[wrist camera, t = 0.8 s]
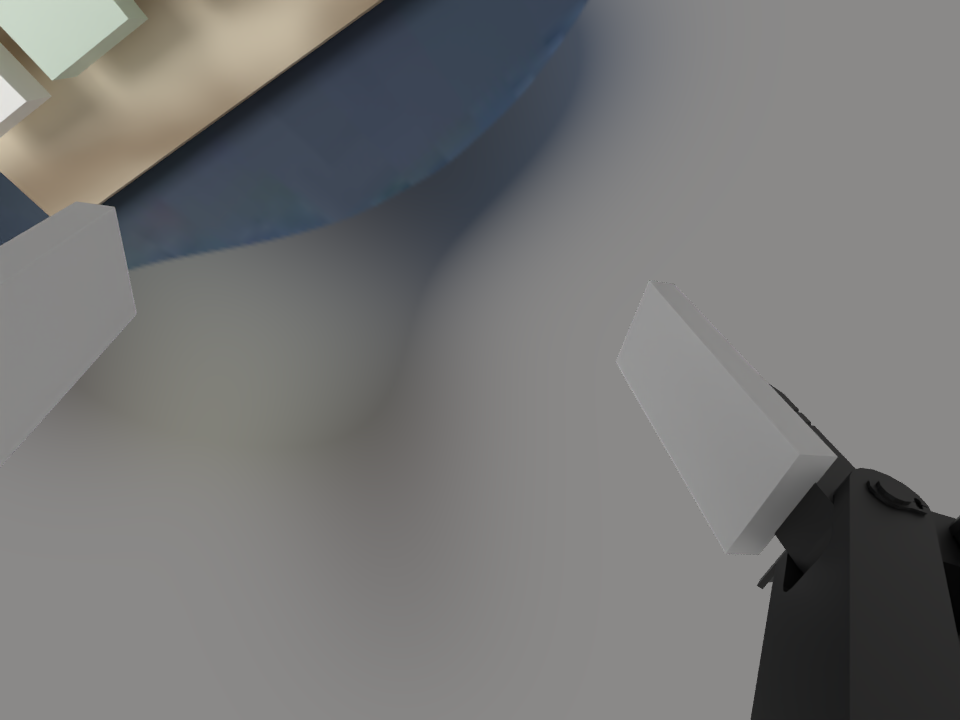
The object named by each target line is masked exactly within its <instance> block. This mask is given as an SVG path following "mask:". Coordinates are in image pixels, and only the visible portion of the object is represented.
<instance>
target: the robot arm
mask: <svg viewBox="0 0 960 720" xmlns="http://www.w3.org/2000/svg"><path fill="white" fill-rule="evenodd" d="M136 314H137V312H136V307H135V302H134V297H133V292H132V287H131V283H130V278H129V273H128V268H127V263H126V258H125V253H124V249H123V244H122V239H121V234H120V229H119V224H118V219H117V215H116V210H115V207H113V206H105V205H98V204H91V203H84V202H74V203H73V204H71V205H69V206H67V207H66V208H64V209H62V210H61V211H59V212H57V213H56V214H54V215H52V216H50V217H49V218H47V219H45V220H44V221H42V222H40V223H38V224H37V225H35V226H33V227H32V228H30V229H28V230H26V231H25V232H23V233H21V234H20V235H18V236H16V237H15V238H13V239H11V240H9V241H8V242H6V243H4V244H3V245H1V246H0V467H1V466H2V465H3V464H4V463H5V462H6V461H7V459H8V458H9V457H10V456H11V455H12V454H13V453H14V452H15V450H16V449H17V448H18V447H19V446H20V445H21V444H22V443H23V441H24V440H25V439H26V438H27V437H28V436H29V435H30V434H31V432H32V431H33V430H34V429H35V428H36V427H37V426H38V424H39V423H40V422H41V421H42V420H43V419H44V418H45V417H46V416H47V414H48V413H49V412H50V411H51V410H52V409H53V408H54V407H55V405H56V404H57V403H58V402H59V401H60V400H61V399H62V398H63V396H64V395H65V394H66V393H67V392H68V391H69V390H70V388H71V387H72V386H73V385H74V384H75V383H76V382H77V380H78V379H79V378H80V377H81V376H82V375H83V374H84V373H85V372H86V370H87V369H88V368H89V367H90V366H91V365H92V364H93V363H94V361H95V360H96V359H97V358H98V357H99V356H100V355H101V354H102V352H103V351H104V350H105V349H106V348H107V347H108V346H109V345H110V343H111V342H112V341H113V340H114V339H115V338H116V337H117V336H118V334H119V333H120V332H121V331H122V330H123V329H124V328H125V326H126V325H127V324H128V323H129V322H130V321H131V320H132V319H133V318H134V316H135V315H136ZM616 364H617V366H618V367H619V369H620V371H621V373H622V374H623V376H624V378H625V380H626V381H627V383H628V385H629V387H630V388H631V390H632V392H633V394H634V395H635V397H636V399H637V400H638V402H639V404H640V406H641V407H642V409H643V411H644V413H645V414H646V416H647V418H648V420H649V421H650V423H651V425H652V427H653V428H654V430H655V432H656V434H657V435H658V437H659V439H660V441H661V442H662V444H663V446H664V447H665V449H666V451H667V453H668V454H669V456H670V458H671V460H672V462H673V463H674V465H675V467H676V468H677V470H678V472H679V474H680V475H681V477H682V479H683V481H684V482H685V484H686V486H687V488H688V489H689V491H690V493H691V495H692V496H693V498H694V500H695V501H696V503H697V505H698V507H699V509H700V510H701V512H702V514H703V516H704V517H705V519H706V521H707V523H708V524H709V526H710V528H711V530H712V531H713V533H714V535H715V536H716V538H717V540H718V542H719V544H720V545H721V547H722V549H723V550H724V552H725V554H746V555H751V554H752V555H759V554H760V553H761V552H762V551H763V549H764V548H765V547H766V546H767V544H768V543H769V542H770V541H771V539H772V538H773V537H774V536H775V535H776V536H777V538H778V539H779V541H780V542H781V543H782V545H783V546H784V548H785V549H786V550H785V551H784V552H783V553H782V555H781V556H780V557H779V558H778V559H777V560H776V562H775V563H774V564H773V565H772V566H771V567H770V569H769V570H768V571H767V572H766V573H765V575H764V576H763V577H762V578H761V580H760V581H759V583H758V585H757V586H758V587H760V588H762V589H763V588H764V587H765V586H766V584H767V583H768V582H773V585H772V591H771V598H770V603H769V610H768V616H767V622H766V628H765V634H764V640H763V646H762V653H761V659H760V666H759V671H758V678H757V684H756V690H755V696H754V702H753V708H752V714H751V720H960V516H959V517H958V518H957V519H955V518H951V517H948V516H945V515H941V514H938V513H935V512H931V511H930V509H929V507H928V505H927V504H926V503H925V502H924V501H923V500H922V499H921V498H920V497H919V496H918V495H917V494H916V493H915V492H913V491H912V490H911V489H910V488H908V487H907V486H906V485H904V484H903V483H901V482H899V481H897V480H896V479H894V478H892V477H890V476H888V475H886V474H883V473H881V472H878V471H875V470H872V469H864V468H859V469H855V468H854V467H853V466H852V465H851V464H850V463H849V461H847V459H846V458H845V457H844V456H843V455H842V454H841V453H840V452H839V451H838V450H837V449H836V448H835V447H834V446H833V445H832V444H831V443H830V442H829V441H828V440H827V439H826V438H825V436H824V435H823V434H822V433H821V432H820V431H819V430H818V429H817V428H816V427H815V426H811V422H810V421H809V420H808V419H807V418H806V417H805V416H804V415H803V414H802V413H799V412H798V411H799V410H798V408H797V407H795V405H794V404H793V403H792V402H791V401H790V400H789V399H788V398H787V397H786V396H785V395H784V394H783V393H782V392H780V391H779V390H777V389H776V388H774V387H773V386H772V385H770V384H769V383H767V381H766V380H765V379H764V378H763V377H762V376H761V375H760V374H759V373H758V372H757V371H756V370H755V369H754V368H753V367H752V366H751V365H750V363H748V361H747V360H746V359H745V358H744V357H743V356H742V355H741V354H740V353H739V352H738V351H737V350H736V349H735V348H734V347H733V345H732V344H731V343H730V342H729V341H728V340H727V339H726V338H725V337H724V336H723V335H722V334H721V333H720V332H719V331H718V330H717V329H716V328H715V326H714V325H713V324H712V323H711V322H710V321H709V320H708V319H707V318H706V317H705V316H704V315H703V314H702V313H701V312H700V311H699V310H698V309H697V307H696V306H694V304H693V303H692V302H691V301H690V300H689V299H688V298H687V297H686V296H685V295H684V294H683V293H682V292H681V290H680V289H679V288H678V287H676V285H675V284H672V283H665V282H658V281H651V280H649V282H648V284H647V287H646V289H645V291H644V294H643V296H642V299H641V301H640V304H639V306H638V309H637V311H636V313H635V316H634V318H633V321H632V323H631V325H630V328H629V330H628V333H627V335H626V338H625V340H624V343H623V345H622V347H621V350H620V352H619V355H618V357H617V360H616Z"/></svg>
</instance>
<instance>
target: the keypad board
mask: <svg viewBox="0 0 960 720" xmlns="http://www.w3.org/2000/svg"><path fill="white" fill-rule="evenodd" d="M134 1H135V3H136V4H137V5H138V6H139V8H140V9H141V10H142V11H143V13H144V14H145V15H146V16H147V18H148V20H146V21H145V22H144V23H143V24H141V25H140V26H139V27H138V28H136V29H135V30H134V31H133V32H131V33H130V34H129V35H128V36H126V37H125V38H124V39H123V40H121V41H120V42H119V43H118V44H117V45H115V46H114V47H113V48H112V49H110V50H109V51H108V52H107V53H105V54H104V55H103V56H102V57H100V58H99V59H98V60H97V61H95V62H94V63H93V64H92V65H90V66H89V67H88V68H87V69H85V70H84V71H83V72H82V73H80V74H79V75H78V76H77V77H72V78H66V79H60V80H53V81H52V80H51V79H50V78H49V77H48V76H47V75H46V74H45V73H44V72H43V71H42V69H41V68H40V67H39V66H38V65H37V64H36V63H35V62H34V61H33V60H32V59H31V58H30V57H29V56H28V55H27V54H26V53H25V51H24V50H23V49H22V48H21V47H20V46H19V45H18V44H17V43H16V42H15V41H14V40H13V39H12V38H11V37H10V36H9V35H8V34H7V32H6V31H5V30H4V29H3V28H2V27H1V26H0V43H1V44H2V45H3V46H4V47H5V48H6V49H7V50H8V51H9V52H10V53H11V54H12V55H13V56H14V57H15V58H16V59H17V60H18V61H19V62H20V63H21V64H22V65H23V66H24V68H25V69H26V70H27V71H28V72H29V73H30V74H31V75H32V76H33V77H34V78H35V79H36V80H37V81H38V82H39V83H40V84H41V85H42V86H43V87H44V88H45V89H46V90H47V91H48V92H49V94H50V95H51V96H52V97H50V98H49V99H48V100H47V101H45V102H44V103H43V104H42V105H40V106H39V107H38V108H37V109H35V110H34V111H33V112H32V113H30V114H29V115H28V116H27V117H25V118H24V119H23V120H22V121H20V122H19V123H18V124H17V125H15V126H14V127H13V128H12V129H10V130H9V131H8V132H7V133H5V134H4V135H3V136H2V137H0V172H1V173H2V174H4V175H5V176H6V177H7V178H8V179H9V180H10V181H11V182H12V183H13V184H15V185H16V186H17V187H18V188H19V189H20V190H21V191H22V192H23V193H25V194H26V195H27V196H28V197H29V198H30V199H31V200H32V201H33V202H34V203H36V204H37V205H38V206H39V207H40V208H41V209H42V210H43V211H44V212H46V213H47V214H48V215H49V216H52V215H54V214H56V213H57V212H59V211H61V210H62V209H64V208H66V207H67V206H69V205H71V204H73V203H74V202H84V203H91V204H98V205H101V204H102V203H104V202H105V201H106V200H108V199H109V198H111V197H112V196H113V195H115V194H116V193H118V192H119V191H120V190H122V189H123V188H124V187H126V186H127V185H129V184H130V183H131V182H133V181H134V180H136V179H137V178H138V177H140V176H141V175H142V174H144V173H145V172H147V171H148V170H149V169H151V168H152V167H154V166H155V165H156V164H158V163H159V162H160V161H162V160H163V159H165V158H166V157H167V156H169V155H170V154H172V153H173V152H174V151H176V150H177V149H178V148H180V147H181V146H183V145H184V144H185V143H187V142H188V141H190V140H191V139H192V138H194V137H195V136H196V135H198V134H199V133H201V132H202V131H203V130H205V129H206V128H208V127H209V126H210V125H212V124H213V123H215V122H216V121H217V120H219V119H220V118H221V117H223V116H224V115H226V114H227V113H228V112H230V111H231V110H233V109H234V108H235V107H237V106H238V105H239V104H241V103H242V102H244V101H245V100H246V99H248V98H249V97H251V96H252V95H253V94H255V93H256V92H257V91H259V90H260V89H262V88H263V87H264V86H266V85H267V84H269V83H270V82H271V81H273V80H274V79H275V78H277V77H278V76H280V75H281V74H282V73H284V72H285V71H287V70H288V69H289V68H291V67H292V66H293V65H295V64H296V63H298V62H299V61H300V60H302V59H303V58H305V57H306V56H307V55H309V54H310V53H311V52H313V51H314V50H316V49H317V48H318V47H320V46H321V45H323V44H324V43H325V42H327V41H328V40H329V39H331V38H332V37H334V36H335V35H336V34H338V33H339V32H341V31H342V30H343V29H345V28H346V27H348V26H349V25H350V24H352V23H353V22H354V21H356V20H357V19H359V18H360V17H361V16H363V15H364V14H366V13H367V12H368V11H370V10H371V9H372V8H374V7H375V6H377V5H378V4H379V3H381V2H382V1H384V0H134Z"/></svg>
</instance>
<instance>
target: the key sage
mask: <svg viewBox="0 0 960 720" xmlns="http://www.w3.org/2000/svg"><path fill="white" fill-rule="evenodd" d="M146 20H148V18H147V16H146V15H145V14H144V13H143V11H142V10H141V9H140V8H139V6H138V5H137V4H136V3H135V1H134V0H0V26H1V27H2V28H3V29H4V30H5V31H6V32H7V34H8V35H9V36H10V37H11V38H12V39H13V40H14V41H15V42H16V43H17V44H18V45H19V46H20V47H21V48H22V49H23V50H24V51H25V53H26V54H27V55H28V56H29V57H30V58H31V59H32V60H33V61H34V62H35V63H36V64H37V65H38V66H39V67H40V68H41V69H42V71H43V72H44V73H45V74H46V75H47V76H48V77H49V78H50V79H51V80H52V81H53V80H60V79H66V78H72V77H77V76H78V75H79V74H80V73H82V72H83V71H84V70H85V69H87V68H88V67H89V66H90V65H92V64H93V63H94V62H95V61H97V60H98V59H99V58H100V57H102V56H103V55H104V54H105V53H107V52H108V51H109V50H110V49H112V48H113V47H114V46H115V45H117V44H118V43H119V42H120V41H121V40H123V39H124V38H125V37H126V36H128V35H129V34H130V33H131V32H133V31H134V30H135V29H136V28H138V27H139V26H140V25H141V24H143V23H144V22H145V21H146Z"/></svg>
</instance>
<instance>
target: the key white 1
mask: <svg viewBox="0 0 960 720" xmlns="http://www.w3.org/2000/svg"><path fill="white" fill-rule="evenodd" d="M50 97H52V96H51V95H50V94H49V92H48V91H47V90H46V89H45V88H44V87H43V86H42V85H41V84H40V83H39V82H38V81H37V80H36V79H35V78H34V77H33V76H32V75H31V74H30V73H29V72H28V71H27V70H26V69H25V68H24V66H23V65H22V64H21V63H20V62H19V61H18V60H17V59H16V58H15V57H14V56H13V55H12V54H11V53H10V52H9V51H8V50H7V49H6V48H5V47H4V46H3V45H2V44H1V43H0V137H2V136H3V135H4V134H5V133H7V132H8V131H9V130H10V129H12V128H13V127H14V126H15V125H17V124H18V123H19V122H20V121H22V120H23V119H24V118H25V117H27V116H28V115H29V114H30V113H32V112H33V111H34V110H35V109H37V108H38V107H39V106H40V105H42V104H43V103H44V102H45V101H47V100H48V99H49V98H50Z"/></svg>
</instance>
